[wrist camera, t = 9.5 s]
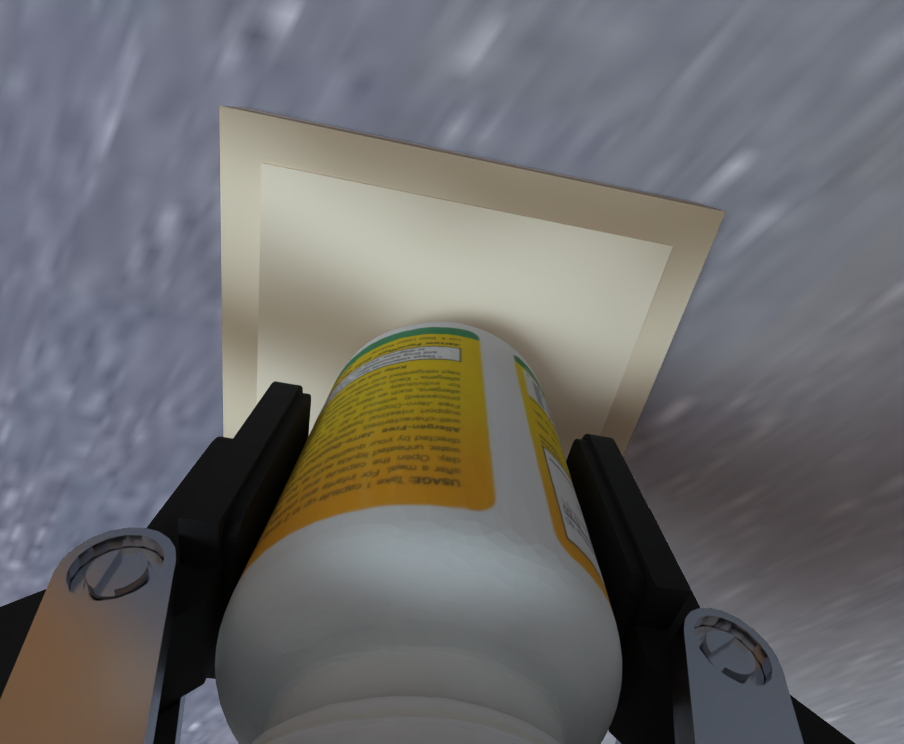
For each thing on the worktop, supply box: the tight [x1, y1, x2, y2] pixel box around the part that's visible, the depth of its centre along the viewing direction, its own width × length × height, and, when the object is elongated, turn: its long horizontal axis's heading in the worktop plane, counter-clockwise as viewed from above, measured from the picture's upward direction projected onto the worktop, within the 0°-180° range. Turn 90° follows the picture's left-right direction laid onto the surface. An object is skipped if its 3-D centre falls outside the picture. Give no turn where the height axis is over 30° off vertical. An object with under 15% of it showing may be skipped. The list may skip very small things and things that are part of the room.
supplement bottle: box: [215, 322, 622, 744], centre depth 9 cm, size 5×5×10 cm
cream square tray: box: [220, 106, 726, 461], centre depth 15 cm, size 12×12×2 cm
